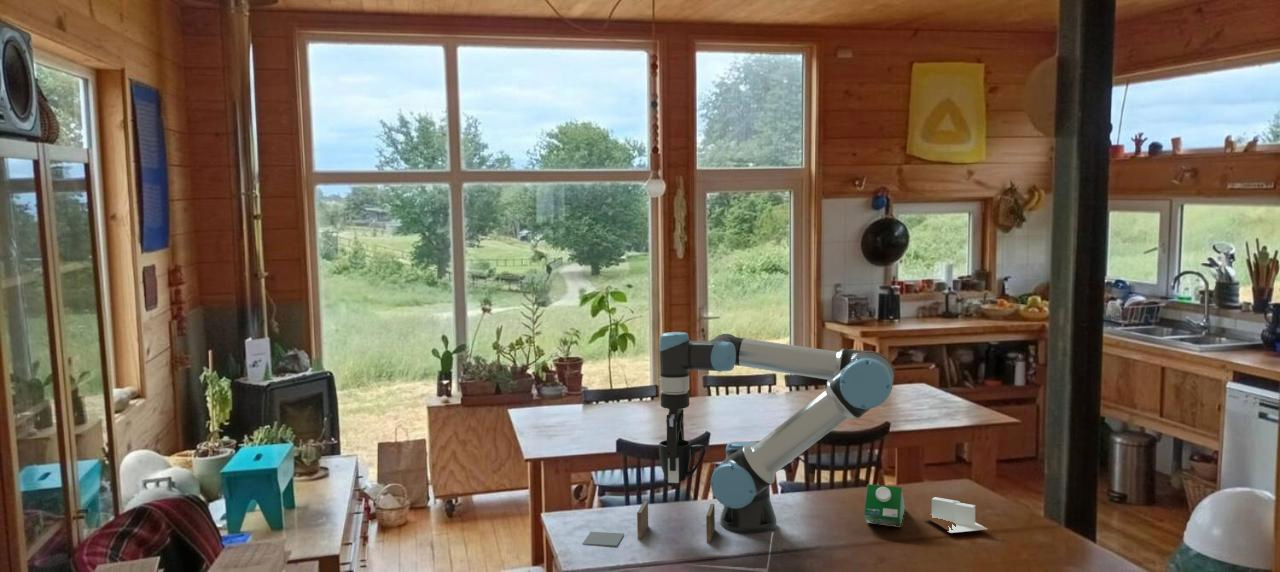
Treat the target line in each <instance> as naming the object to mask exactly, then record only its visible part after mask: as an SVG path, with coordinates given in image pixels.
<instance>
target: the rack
mask: <svg viewBox="0 0 1280 572" xmlns="http://www.w3.org/2000/svg"><path fill="white" fill-rule="evenodd" d="M715 511H716V510H715V503H710V505H709V508H708V510H707V513H706V515H705V516H706V521H705V522H706V526H705V527H706V543H707V544H708V543H711V542H712V539H713V536H714V533H715V531H716V525H715V522H716V517H715ZM636 518H637V519H636V520H637V521H636V522H637V524H636V525H637V539H638V540H642V539H643V537H644V535H645V533H646V531H647V530H648V528H649V501H648V500H644V501H643V502H642V504H641V505H640V508H638V510H637V515H636Z"/></svg>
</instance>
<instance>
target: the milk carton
mask: <svg viewBox="0 0 1280 572" xmlns="http://www.w3.org/2000/svg"><path fill="white" fill-rule="evenodd" d="M904 509H905V510H906V506H905V501H904V495H903V489H902V487H900V486H891V485H881V484H869V483H868V484H866V492H865V503H864V512H863V513H864V514H863V515H864V519H865V521H866V524H867V523H876V524H887V525H896V526H901V523H902V519H903V520H904V518H903V514H904V515H905V513H904ZM902 524H903V523H902Z"/></svg>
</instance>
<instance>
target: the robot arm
mask: <svg viewBox="0 0 1280 572" xmlns="http://www.w3.org/2000/svg"><path fill="white" fill-rule="evenodd" d="M658 351H659V368H660V369H659V371H660V374H659V375H660V377H659V378H658V380H657V382H658V383H660V391H661V393H660V394H659V395H660V407H661V408H664V409H668V413H667V414H666V420H665V421H666V440H667V454H666V455H665V458H668V481H667V482H668V484H669V483H670V484H679V483H680V481H679V457H678V440H685V430H684V429H685V428H684V427H685V426H684V425H685V423H684V417H685V415H684V412H685V410H684V409H686V408H688V407H690V393H689V391H690V371H707V372H708V371H712V372H715V371H716V372H719V373H720V372H730V371H733V370H734V368H735V366H738V367H745V368H751V369H759V370H765V371H771V372H778V373H783V374H784V373H785V374H788V375H789V374H790V375H796V376H801V377H802V376H803V377H809V378H814V379H816V378H817V379H822V380H827V381H826V387H825V388H826V389H825V390H824V391H823V392H821V393H820V394H819V395H816V397H815V398H814V399H813V400H811V401H809V403H807V404H806V405H805V406H803V407H802V408H801V409H799V410H798V411H797V412H796V413H794V414H793V415H792V416H790V417H789V418H788V419H787V420H786V421H784V422H783V423H782V424H780V425H778V427H776V428H775V429H774V430H773V431H771V432H770V433H769V434H767V435H766V436H764V438H762V439H761V440H760V441H758V442H757V441H730V442H727V444H726V448H725V455H726V456H725V459H724V460H723V461H722V462H721V463H720V464H719V465H717V467H715V469H714V470H713V473H712V475H711V479H710V488H711V492H712V494H713V496H714V498H715V499H716V500H717V501H718V502H719V503H720V504H722V505H723V508H722V512H721V514H720V523H719V524H720V526H721V527H722V528H723V529H725V530H727V531H729V532H733V533H737V534H739V533H740V534H762V533H767V532H770V531H771V532H774V531H775V530H776V529H777V516H776V514H775V511H774V507H773V505H772V502H771V497H770V496H771V493H770V492H771V491H770V490H771V489H770V488H771V485H772V484H773V483H775V480H776V479H775V477H776V473H777V472H779V471H780V470H781V469H783V468H784V467H785V466H787V465H788V464H789V463H791V462H792V461H793V460H795V459H796V458H798V456H800V455H801V454H803V453H804V452H805V451H807V450H808V449H810V448H811V447H812V446H813V445H815V444H817V442H819V441H820V440H821V439H823V437H825V436H827V435H828V434H829V433H830V432H832V431H833V430H834V429H836V427H838V426H839V425H841V424H842V423H843V422H845V421H847V419H849V418H852V419H859V418H860V417H862V416H863V415H865V414H866V413H867V412H869V411H870V410H872V409H874V408H876V407H879V406H881V405H882V404H883V403H885V401H886V400H887V399H888V398H889V396H890V394H891V393H892V390H893V384H894V382H895V375H896V373H895V369H894V366H893V364H892V362H891V361H890V360H889V359H888V358H887V356H885V355H884V354H882V353H880V352H877V351H874V350H859V349H851V348H850V349H848V348H842V349H840V350H839V351H835V350H829V349H828V350H827V349H821V348H814V347H808V346H807V347H806V346H800V345H794V344H786V343H780V342H772V341H765V340H759V339H758V340H757V339H752V338H751V339H750V338H745V337H744V338H743V337H740V336H739V337H738V336H735V335H733V334H731V333H722V334H719V335H717V336H715V337H713V338H712V339H711V340H708V341H707V340H691V339H690V337H689V334H688V332H685V331H684V332H682V331H671V332H667V331H666V332H664V333H662V334H661V335H660V338H659V350H658ZM670 452H673V453H670Z"/></svg>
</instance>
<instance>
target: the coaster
mask: <svg viewBox="0 0 1280 572" xmlns="http://www.w3.org/2000/svg"><path fill="white" fill-rule="evenodd" d="M624 536H625V533H624V532H623V533H622V532H604V531H603V532H602V531H590V532H589V533H588V535H587V536H586V538H585V539H584V540H583V542H582V544H587V545H586V546H595V545H596V547H608V546H609V547H610V548H611V547H612V548H617V547H618V546H619V544H620V543H621V541H622V539H623V538H624ZM588 544H589V545H588ZM609 547H608V548H609Z"/></svg>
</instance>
